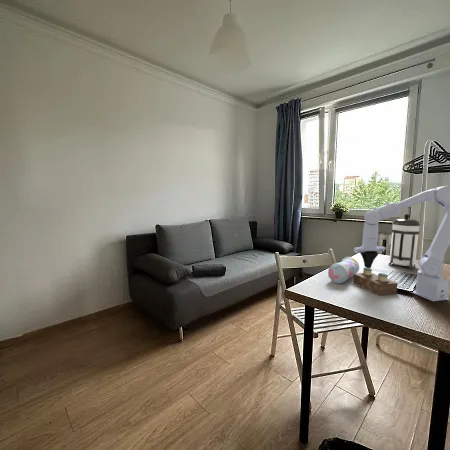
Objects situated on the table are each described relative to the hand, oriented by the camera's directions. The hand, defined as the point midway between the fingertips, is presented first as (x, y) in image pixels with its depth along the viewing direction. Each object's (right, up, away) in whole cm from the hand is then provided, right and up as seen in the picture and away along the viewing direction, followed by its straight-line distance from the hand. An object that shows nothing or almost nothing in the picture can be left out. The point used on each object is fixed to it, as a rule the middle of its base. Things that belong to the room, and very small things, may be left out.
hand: (367, 267), depth 107 cm
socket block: (+1, -9, -3) cm, 9 cm away
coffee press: (+37, -5, +28) cm, 47 cm away
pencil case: (-6, -7, +9) cm, 13 cm away
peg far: (0, -5, +1) cm, 5 cm away
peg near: (+2, -6, -7) cm, 9 cm away
